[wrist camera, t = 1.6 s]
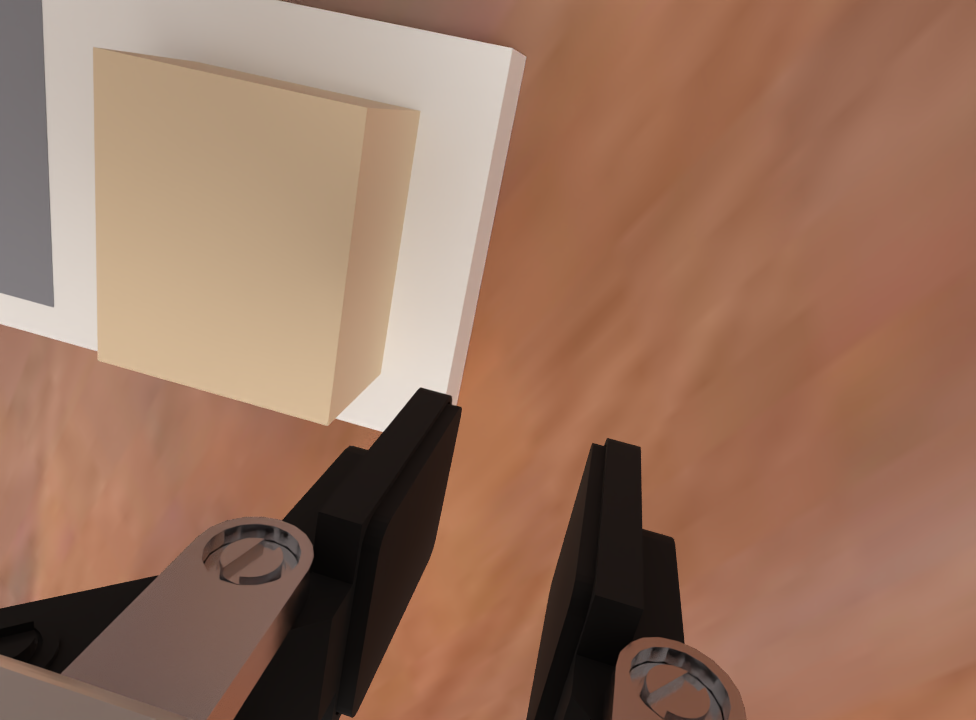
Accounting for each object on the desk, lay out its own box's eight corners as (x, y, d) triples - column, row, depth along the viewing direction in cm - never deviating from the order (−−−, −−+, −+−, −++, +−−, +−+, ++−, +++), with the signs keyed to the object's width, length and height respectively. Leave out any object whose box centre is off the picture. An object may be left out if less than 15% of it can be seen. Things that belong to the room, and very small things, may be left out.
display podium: (-164, -86, 28) (-252, -108, 26) (526, 56, 25) (512, 48, 22) (-118, 259, 34) (-186, 271, 31) (454, 417, 30) (435, 447, 27)
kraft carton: (196, 61, 24) (92, 46, 20) (420, 111, 23) (367, 107, 19) (186, 321, 28) (97, 360, 23) (380, 373, 27) (327, 425, 22)
